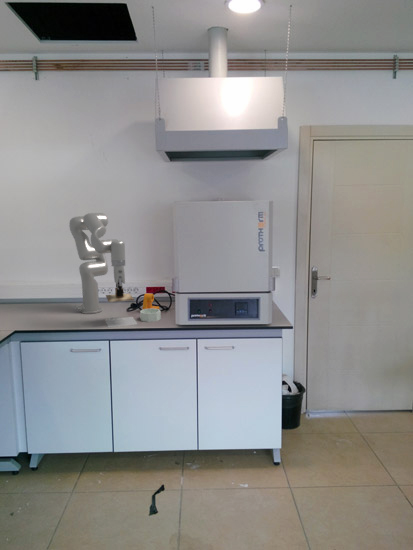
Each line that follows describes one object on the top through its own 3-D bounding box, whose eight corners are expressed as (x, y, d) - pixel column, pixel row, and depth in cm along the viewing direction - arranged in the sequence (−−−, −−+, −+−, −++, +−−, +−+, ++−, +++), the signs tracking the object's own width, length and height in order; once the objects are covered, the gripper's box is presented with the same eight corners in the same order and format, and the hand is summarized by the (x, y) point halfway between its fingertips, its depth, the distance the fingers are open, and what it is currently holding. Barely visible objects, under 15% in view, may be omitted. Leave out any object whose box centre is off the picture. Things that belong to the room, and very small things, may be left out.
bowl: (142, 323, 217) (142, 314, 216) (139, 318, 227) (138, 309, 226) (162, 321, 221) (162, 312, 220) (157, 316, 231) (157, 307, 230)
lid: (108, 302, 207) (108, 291, 206) (106, 296, 220) (105, 286, 219) (133, 300, 212) (133, 289, 211) (129, 294, 224) (129, 285, 223)
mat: (108, 328, 208) (108, 327, 208) (105, 320, 223) (105, 319, 223) (137, 325, 213) (137, 324, 213) (132, 317, 228) (132, 316, 228)
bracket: (153, 315, 234) (153, 296, 232) (142, 314, 236) (141, 295, 234) (159, 310, 244) (159, 292, 242) (149, 309, 246) (148, 291, 244)
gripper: (127, 265, 206) (128, 298, 209) (122, 260, 221) (124, 291, 225) (113, 265, 203) (114, 299, 207) (109, 261, 219) (110, 292, 222)
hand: (119, 294), depth 215 cm, fingers closed on lid, 4 cm apart
